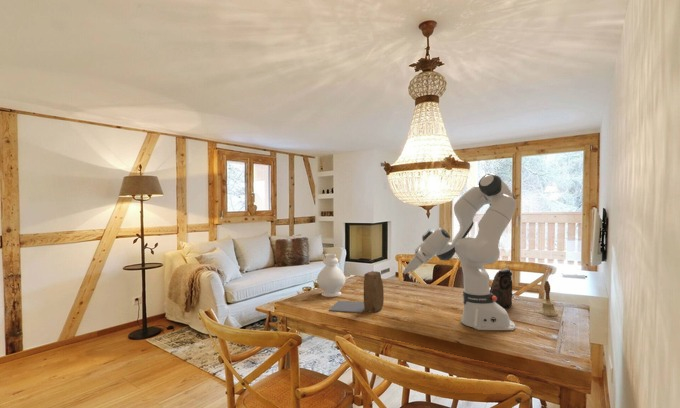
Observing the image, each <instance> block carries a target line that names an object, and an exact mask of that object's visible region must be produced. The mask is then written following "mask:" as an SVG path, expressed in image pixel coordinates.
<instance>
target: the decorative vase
mask: <svg viewBox="0 0 680 408" xmlns="http://www.w3.org/2000/svg"><path fill="white" fill-rule="evenodd" d="M322 262H323V264H324V265H325V266H324V267H323V268H322V269H321V270H320V272H319V273H318V275H317V277H316V284H317V285H318V286H319V288H320V289H321V290H322V291H323V292H322V293H321V296H322V297H326V298H334V297H339V296H342V292H341V290H342V288H343V286H344V285H345V284H346V277H345V274H344V272H343V271H342V269H340V267H338V265H337V264H338V263H339V259H338V258H337V254H336V253H326V254H325V253H324V258H323V261H322Z"/></svg>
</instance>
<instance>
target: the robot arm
mask: <svg viewBox="0 0 680 408" xmlns="http://www.w3.org/2000/svg"><path fill="white" fill-rule="evenodd" d="M485 205H489V206H488V208H487V209H486V211H485V212H484V214H483V215H482V217H481V218H480V220H479V222H478V223H477V227H478V231H477V235H476V237H469V236H468V237H467V235H468V234H469V232H470V231H471V230H472V228H473V226H474V223H475V222H474V217H475V216H476V214H477V213H478V212H479V210H481V208H482V207H484V206H485ZM517 207H518V203H517V200H516V198H515V195H514V193H513V192H512V191H511V189H510V187H509V186H508V184H506V182H505V181H503V179H502V178H501V177H500V176H499V175H497V174H496V173H487V174H485V175H483V176H482V177H481V178H480V179H479V181H478V185H474V186H472V187H471V188H470V189H468V190H467V191H465V193H464V194H463V195H461V196H460V198H459V199H458V200H457V201H456V202H455V204H454V206H453V211H454V215H455V217H456V219H457V221H458V223H459V231H457V233H456V234H455V237H454V238H453V239H452V241H451V242H450V240H451V235H450V234H449V232H447V231H446V229H444V228H442V227H438V228H437V229H435V228H428V230H427V231H426V232H425V233H424V234H422V236H421V237H422V238H421V240H422V242H421V243H420V244H419V245H418V247H416V248H415V249H414V257H412V258H411V259H410V260H409V262H408V263H407V265H406V268H405V269H404V270H403V271H402V273H403V274H404V275H406V274H407V273H408V272H410V273H412V272H414V271H416V270H417V269H418V268H419V267H420V266H422V265H423V264H427V263H429V261H431V260H432V258H434V257H435V256H436V257H437V258H438V259H439V260H440V261H445V262H447V261H450V260H451V259H452V258H454V255H455V254H456V255H457V257H458V259H459V262H460V266H461V270H462V273H463V274H462V276H463V291H462V303H463V310H462V311H463V312H462V314H461V315H462V316H461V320H460V322H461V324H463V325H464V326H467V327H471V328H473V329H475V330H478V331H514V330H515V329H516V325H515V322H514V321H512V320H511V319H510V316H509V314H508V312H507V310H506V309H504V308H502V307H501V306H500V305H499V304H497V303H496V302H495V301H496V300H497V298H496V296H494V295H493V294H492V293H490V289H491V285H490V276H489V275H490V274H489V273H488V272H487V270H486V268H485V265H486V266H487V265H492V264H495V263H496V262H498V260H499V258H500V249H499V243H500V240H501V237H502V235H503V233H504V232H505V230H506V228H507V226H508V225H509V223H510V222H511V220H512V219H513V217H514V215H515V212H516V209H517Z"/></svg>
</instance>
